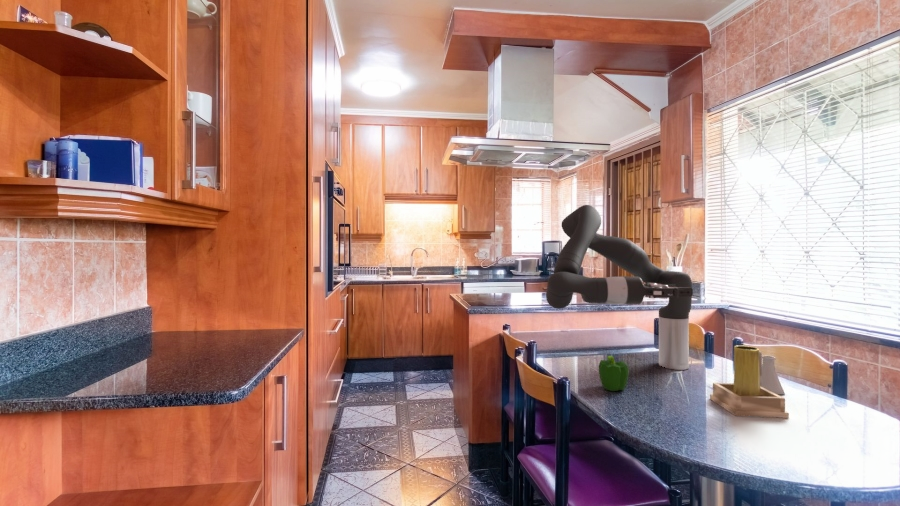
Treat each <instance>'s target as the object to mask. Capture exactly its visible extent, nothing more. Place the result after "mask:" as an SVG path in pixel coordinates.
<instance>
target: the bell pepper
mask: <svg viewBox="0 0 900 506" xmlns="http://www.w3.org/2000/svg"><path fill="white" fill-rule="evenodd" d="M614 358H615V357H614V356H612V355H608V356H606V359H607V360H604V359H601V360H600V362H599V364H598V374H599V378H600V379H599V380H600V383H601V385H602V387H603V388H604V390H606V391H610V392H618V391H624V390H625V388H626V386H627V383H628V380H629V373H630V372H629V371H630V369H629V367H628V365H627V363H626V362H625V361H623V360H620V361H615V359H614Z"/></svg>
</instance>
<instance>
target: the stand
mask: <svg viewBox="0 0 900 506" xmlns="http://www.w3.org/2000/svg"><path fill="white" fill-rule="evenodd" d="M762 356H763V353H762V351H760V350H759V369H760V396H738V395H737V394H735V393H733V388H734V382H733V383H729V382H728V383H727V382H725V383H724V382H712V393H710V394H709V399H710V400H712V401H713V402H714V403H716V404H718V405H719V406H720V405H721V406H720V407H721V408H723V407H724V408H723V409H724V410H726V411H727V412H729V413H731V414H733V415H734V416H735V417H748V416H762V417H761V418H776V417H783V419H788V418H789V419H790V417H789V416H790V413H789V412H788V411H786V398H785V397H783V396H781V395H780V394H779V395H777V394H775V393H773V392H771V391H769V390H767V389H765V388H763V387H762V364H763V358H762Z"/></svg>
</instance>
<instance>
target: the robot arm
mask: <svg viewBox="0 0 900 506" xmlns="http://www.w3.org/2000/svg"><path fill="white" fill-rule="evenodd" d="M601 226H602V218H601V215H600V213H599V211H598V210H597V209H596V208H595V207H593V206H592V205H589V204H584V205H581V206H579V207H578V208H577V209H575V210H573V212H571V213H570V214H568V215H566V217H565V218H563V220H562V221H561V229H562V231H563V232H564V234H565V235H567V237H569V238H568V240H567V241H566V242H565V244H564V246H563V247H562V249H561V250H560V252H559V254H558V257H557V259H556V262H555V264H554V268H553V273H552V274H551V275H550V276H549V277H548V279H547V285H546V286H547V287H546V293H545V298H546V301H547V303H548V305H549V306H551V307H552V308H555V309H557V310H558V309H559V310H560V309H564V308H566V307H567V306H569V305H570V304H571V302H572V300H573V297H574V293H575V294H579V295H581V299H582V301H583V302H585V303H588V304H609V305H641V304H642V303H643V301H644V298H649V299H653V300H654V299H667V298H668V304H666V305H665V306H664V307H660V308H659V309H658V366H659V367H661V366H662V368H664V367H665V369H670V370H676V371H677V370H678V371H683V370H689V368H690V366H689V364H690V363H689V358H690V354H689V352H690V351H689V350H690V349H689V347H690V341H689V339H690V338H689V337H690V334H689V333H690V330H689V329H690V327H689V326H690V324H689V323H690V321H689V320H690V319H689V317H690V312H691V309H692V301H693V295H694V291H693V290H694V289H693V282H692V279H691V277H690V275H689V274H688V273H686V272H683V271H671V270H665V269H663V268H660V267H658V265H655V264H653V263H652V261H650V258H649V256H648V254H647V252H646V251H645V250H644V249H643V248H642V247H641V246H639V245H637V244H636V243H634V242H633V241H632V240H630V239H628V238H624V237H618V236H611V235H604V234H600V233H597V232H598V230H599V229H600V227H601ZM588 249H590V250H592V251H594V252H596V253H597V254H599V255H601V256H602V257H604V258H606V259H607V260H608V261H610V262H611V263H613V264H614V265H616V266H617V267H618V268H620V269H622V270H624V271H626V272H628V273H629V274H630V275H632V276H626V275H625V276H624V275H623V276H609V277H608V276H607V277H605V276H604V277H589V276H584V275H582V274H580V271H581V268H582V265H583V262H584V258H585V255H586V253H587V251H588Z"/></svg>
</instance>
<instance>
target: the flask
mask: <svg viewBox="0 0 900 506" xmlns="http://www.w3.org/2000/svg"><path fill="white" fill-rule="evenodd" d="M776 359H777V357H775V356H773V355H766V354H765V355H762V387H763V388H765V389H767V390H769V391H771V392H773V393H775V394H777V395H779V396H780V395H785V394H786V393H785V391H784V389H783V386H782V384H781V381H780V379H779V377H778V373H777V371H776V365H775V361H776Z"/></svg>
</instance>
